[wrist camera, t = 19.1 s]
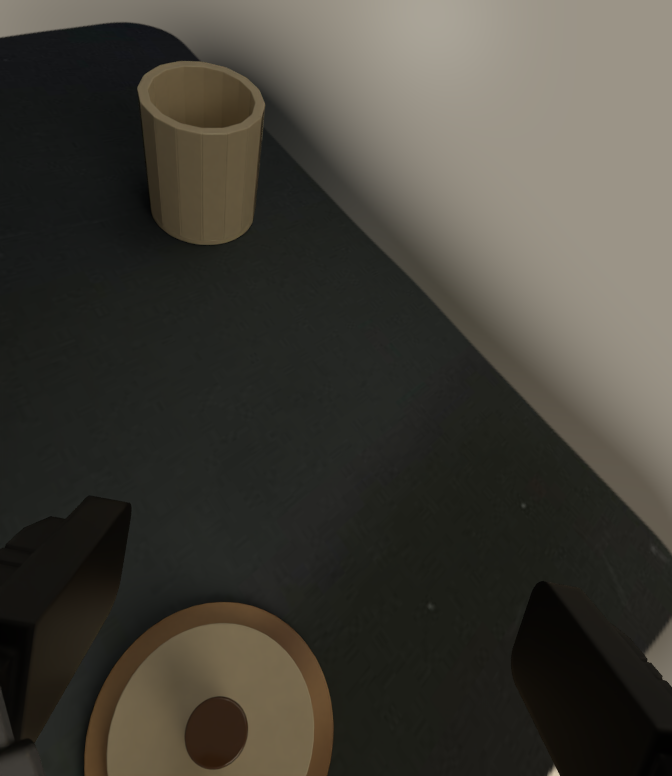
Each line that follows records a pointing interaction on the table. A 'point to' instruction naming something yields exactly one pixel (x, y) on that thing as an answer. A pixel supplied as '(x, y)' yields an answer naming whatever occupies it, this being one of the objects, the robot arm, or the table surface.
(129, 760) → the crock lid
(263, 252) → the table surface
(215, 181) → the crock
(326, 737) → the cork mat
